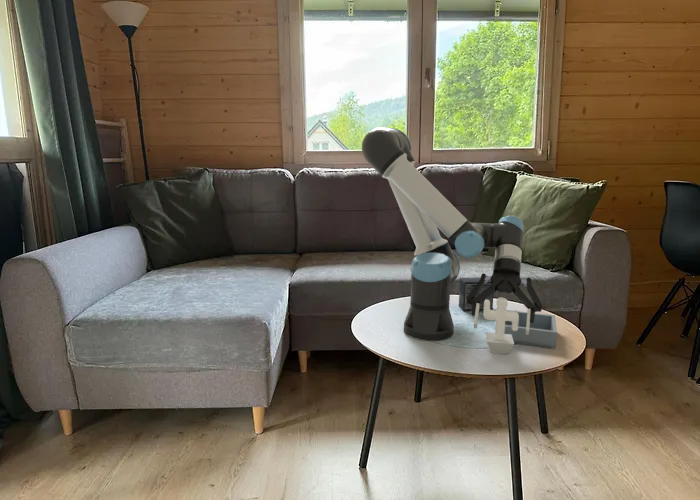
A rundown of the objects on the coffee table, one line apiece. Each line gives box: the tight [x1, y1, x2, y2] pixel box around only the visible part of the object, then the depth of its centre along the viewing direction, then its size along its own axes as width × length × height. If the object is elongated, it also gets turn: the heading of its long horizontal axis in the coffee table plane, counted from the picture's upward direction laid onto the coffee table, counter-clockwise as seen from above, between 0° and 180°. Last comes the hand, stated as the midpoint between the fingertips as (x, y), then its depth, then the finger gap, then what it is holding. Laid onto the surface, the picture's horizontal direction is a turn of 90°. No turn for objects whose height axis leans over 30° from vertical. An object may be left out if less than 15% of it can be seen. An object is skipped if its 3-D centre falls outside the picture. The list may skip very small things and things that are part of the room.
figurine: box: [482, 297, 519, 355], centre depth 138 cm, size 7×9×15 cm
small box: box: [458, 277, 494, 312], centre depth 174 cm, size 11×6×10 cm, turn 94°
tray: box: [504, 309, 558, 350], centre depth 150 cm, size 16×15×5 cm
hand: (500, 329), depth 137 cm, fingers open, 13 cm apart
